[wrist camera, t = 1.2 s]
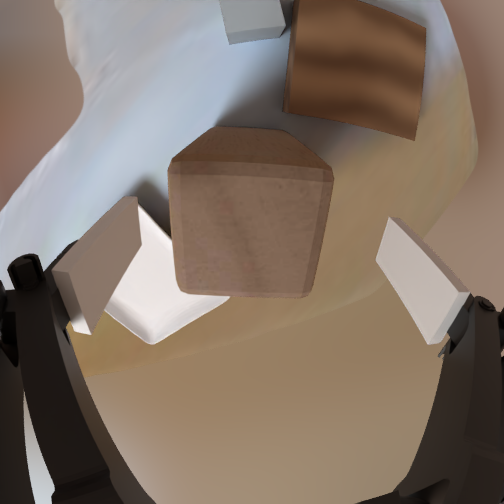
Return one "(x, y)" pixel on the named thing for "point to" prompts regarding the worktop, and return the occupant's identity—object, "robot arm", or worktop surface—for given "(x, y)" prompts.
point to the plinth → (355, 65)
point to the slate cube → (252, 20)
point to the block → (247, 213)
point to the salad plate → (155, 289)
